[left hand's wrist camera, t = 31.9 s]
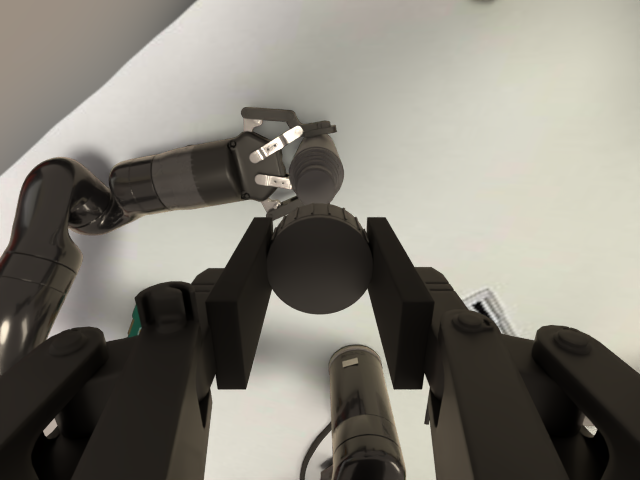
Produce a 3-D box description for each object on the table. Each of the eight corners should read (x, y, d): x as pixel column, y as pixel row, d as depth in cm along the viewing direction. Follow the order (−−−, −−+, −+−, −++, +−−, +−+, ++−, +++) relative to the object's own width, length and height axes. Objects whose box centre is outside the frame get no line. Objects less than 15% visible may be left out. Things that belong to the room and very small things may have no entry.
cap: (251, 237, 14) (241, 256, 12) (332, 181, 13) (334, 193, 12) (308, 305, 16) (306, 332, 14) (385, 259, 15) (395, 281, 13)
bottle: (342, 148, 47) (362, 187, 25) (318, 174, 48) (317, 233, 26) (316, 123, 46) (313, 140, 23) (292, 150, 47) (268, 190, 25)
